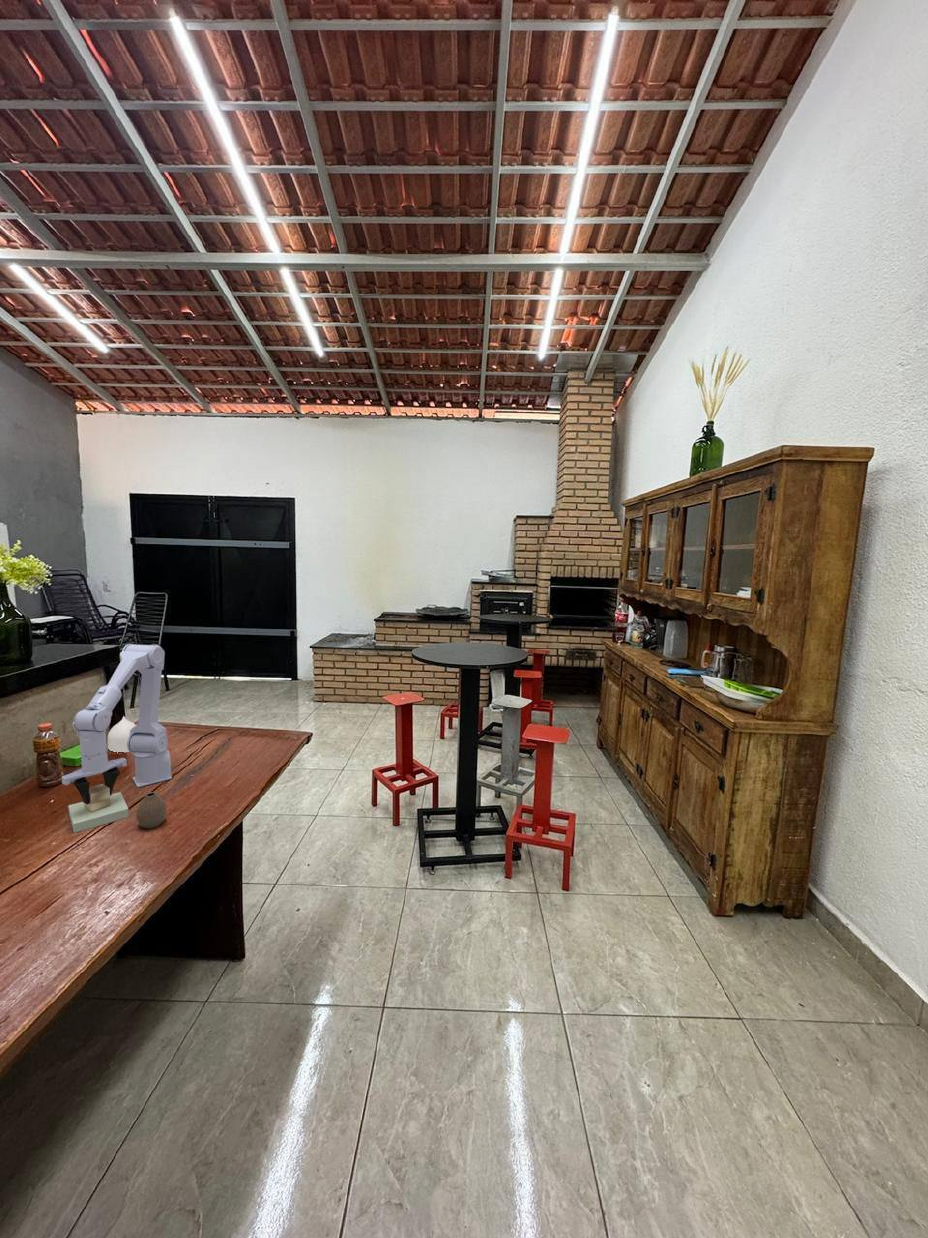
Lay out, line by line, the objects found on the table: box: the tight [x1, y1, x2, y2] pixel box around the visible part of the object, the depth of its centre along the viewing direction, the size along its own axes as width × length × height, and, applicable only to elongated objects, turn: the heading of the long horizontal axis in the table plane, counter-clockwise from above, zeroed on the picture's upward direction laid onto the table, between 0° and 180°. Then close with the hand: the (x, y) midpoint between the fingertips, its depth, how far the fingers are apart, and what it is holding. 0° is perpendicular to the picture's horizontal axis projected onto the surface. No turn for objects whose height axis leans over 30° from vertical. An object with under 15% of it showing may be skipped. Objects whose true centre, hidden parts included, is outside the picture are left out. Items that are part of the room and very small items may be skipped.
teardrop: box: [107, 715, 137, 754], centre depth 179 cm, size 11×11×12 cm
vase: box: [135, 791, 168, 829], centre depth 132 cm, size 7×7×9 cm
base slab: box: [67, 791, 130, 834], centre depth 135 cm, size 12×12×2 cm
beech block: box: [84, 783, 111, 812], centre depth 135 cm, size 4×4×5 cm
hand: (97, 799), depth 135 cm, fingers open, 5 cm apart
